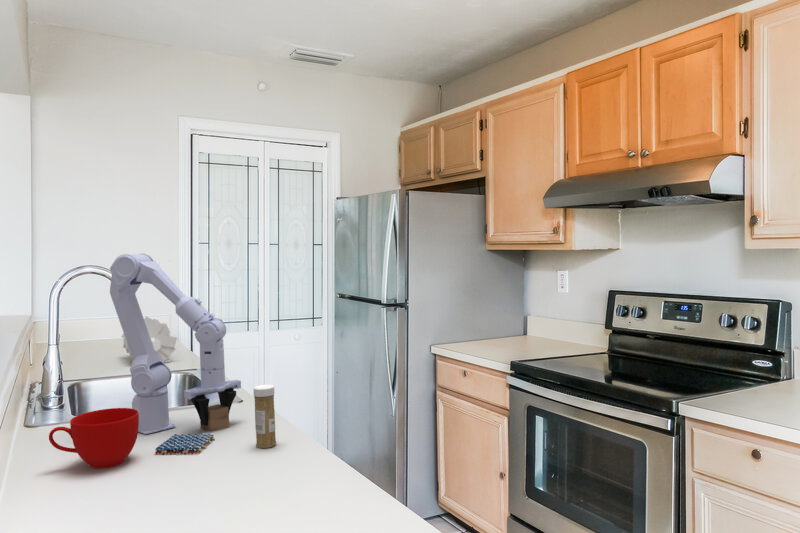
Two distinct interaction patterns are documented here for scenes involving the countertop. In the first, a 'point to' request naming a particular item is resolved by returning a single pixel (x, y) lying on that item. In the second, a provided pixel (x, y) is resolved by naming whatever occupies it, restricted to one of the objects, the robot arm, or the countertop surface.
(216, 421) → the walnut block
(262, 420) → the sprinkles bottle
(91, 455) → the ceramic cup
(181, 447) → the woven mat
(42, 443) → the countertop surface
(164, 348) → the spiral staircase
